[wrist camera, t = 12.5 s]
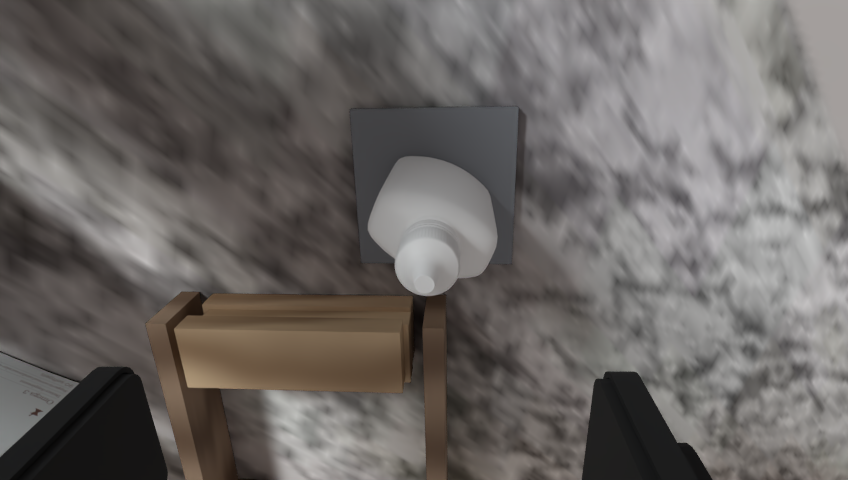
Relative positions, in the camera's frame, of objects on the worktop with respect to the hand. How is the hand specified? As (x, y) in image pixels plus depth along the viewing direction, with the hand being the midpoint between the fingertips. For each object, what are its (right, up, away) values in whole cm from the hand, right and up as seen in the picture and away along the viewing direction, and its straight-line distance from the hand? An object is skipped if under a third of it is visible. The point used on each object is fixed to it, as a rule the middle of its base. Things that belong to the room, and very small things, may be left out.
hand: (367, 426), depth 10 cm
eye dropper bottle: (+2, +7, +18) cm, 19 cm away
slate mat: (+2, +7, +18) cm, 20 cm away
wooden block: (-6, -2, +22) cm, 23 cm away
